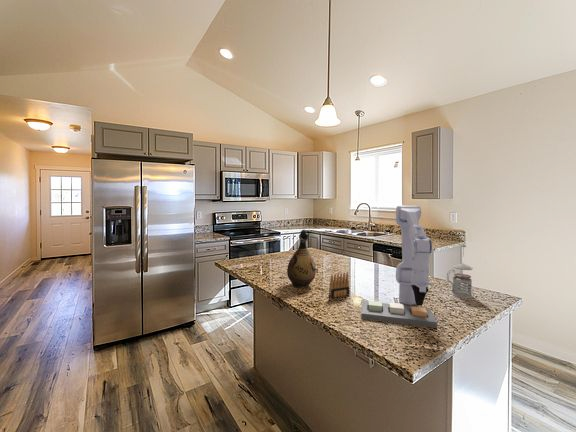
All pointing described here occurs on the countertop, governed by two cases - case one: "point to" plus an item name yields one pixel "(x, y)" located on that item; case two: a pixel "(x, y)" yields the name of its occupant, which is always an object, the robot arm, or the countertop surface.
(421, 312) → the orange key
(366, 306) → the keypad
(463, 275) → the french press
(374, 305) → the sage key
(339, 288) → the ammunition clip
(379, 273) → the countertop surface
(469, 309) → the countertop surface
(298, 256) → the ceramic jug
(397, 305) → the white key
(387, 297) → the countertop surface
